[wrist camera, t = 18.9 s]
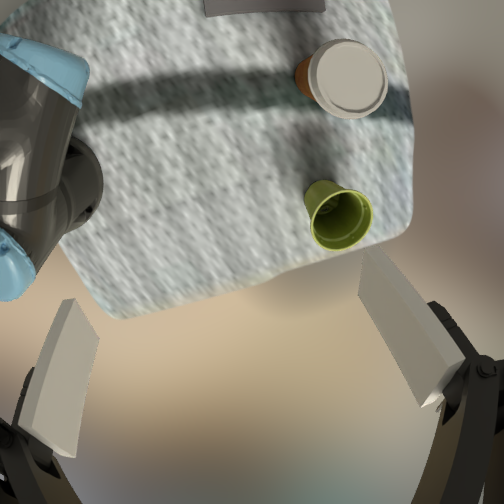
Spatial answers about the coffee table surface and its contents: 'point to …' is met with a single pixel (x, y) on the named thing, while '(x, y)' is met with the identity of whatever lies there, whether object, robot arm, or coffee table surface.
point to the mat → (260, 6)
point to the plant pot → (337, 215)
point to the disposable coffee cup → (343, 78)
